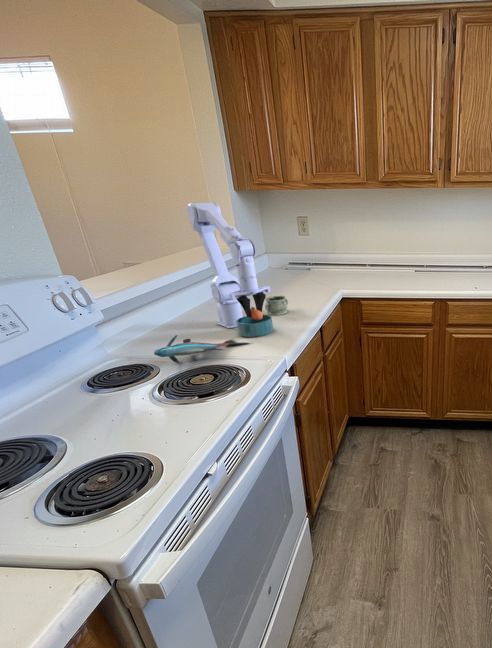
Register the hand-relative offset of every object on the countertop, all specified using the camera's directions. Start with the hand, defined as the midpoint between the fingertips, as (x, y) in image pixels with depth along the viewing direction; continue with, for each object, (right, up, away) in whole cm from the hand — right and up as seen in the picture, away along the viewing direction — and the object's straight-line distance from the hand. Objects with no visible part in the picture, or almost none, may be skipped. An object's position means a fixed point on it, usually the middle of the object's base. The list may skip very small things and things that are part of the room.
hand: (254, 315), depth 147 cm
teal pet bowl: (0, -6, +3) cm, 6 cm away
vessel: (0, +5, +27) cm, 28 cm away
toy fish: (0, -1, +1) cm, 1 cm away
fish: (-9, -15, -17) cm, 25 cm away
